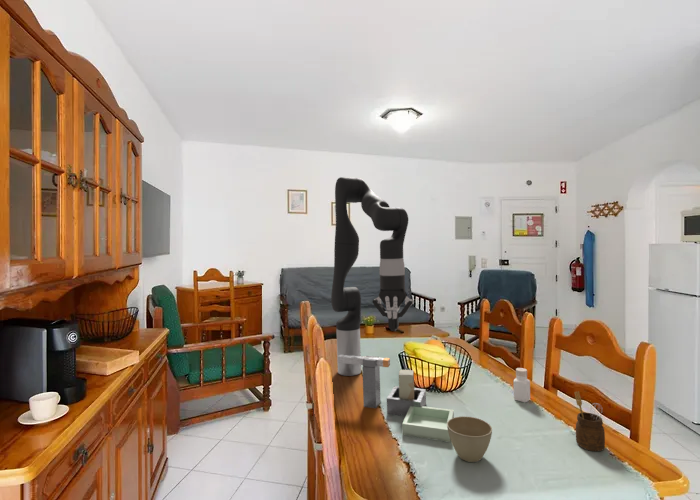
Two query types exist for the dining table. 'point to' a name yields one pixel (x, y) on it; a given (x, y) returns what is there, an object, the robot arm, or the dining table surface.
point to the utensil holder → (589, 429)
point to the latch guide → (371, 383)
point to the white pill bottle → (521, 385)
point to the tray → (427, 423)
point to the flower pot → (469, 437)
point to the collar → (404, 401)
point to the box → (406, 384)
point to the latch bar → (359, 360)
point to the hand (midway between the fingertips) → (393, 330)
